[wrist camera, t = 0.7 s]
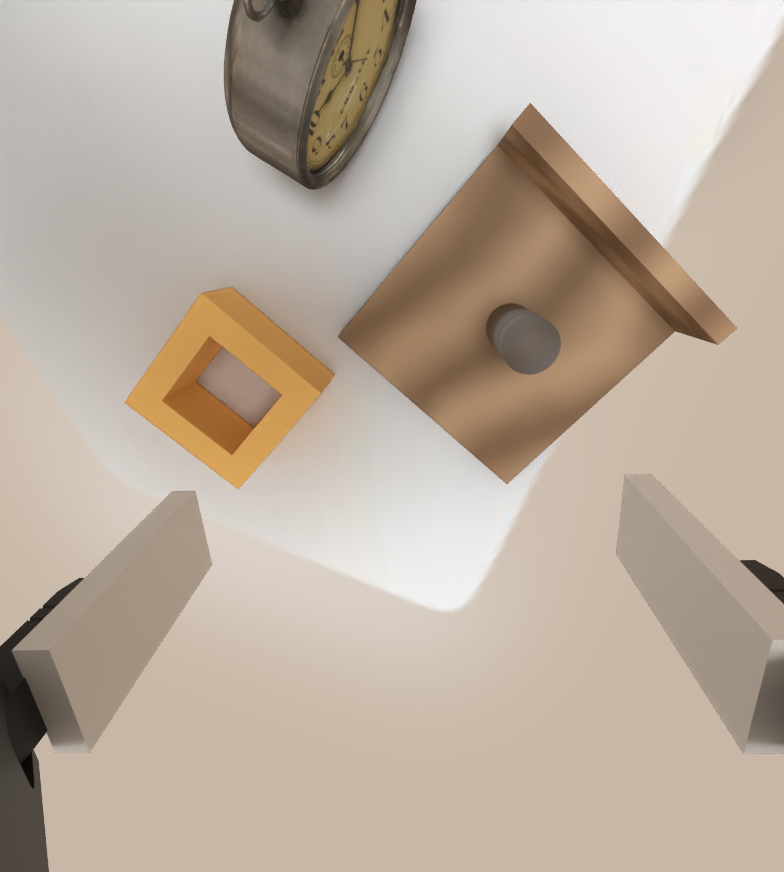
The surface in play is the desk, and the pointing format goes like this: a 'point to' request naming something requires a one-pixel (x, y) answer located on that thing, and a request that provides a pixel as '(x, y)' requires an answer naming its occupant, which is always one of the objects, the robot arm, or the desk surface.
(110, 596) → the robot arm
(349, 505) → the desk surface
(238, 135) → the alarm clock
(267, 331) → the orange square frame
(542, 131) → the hook board
